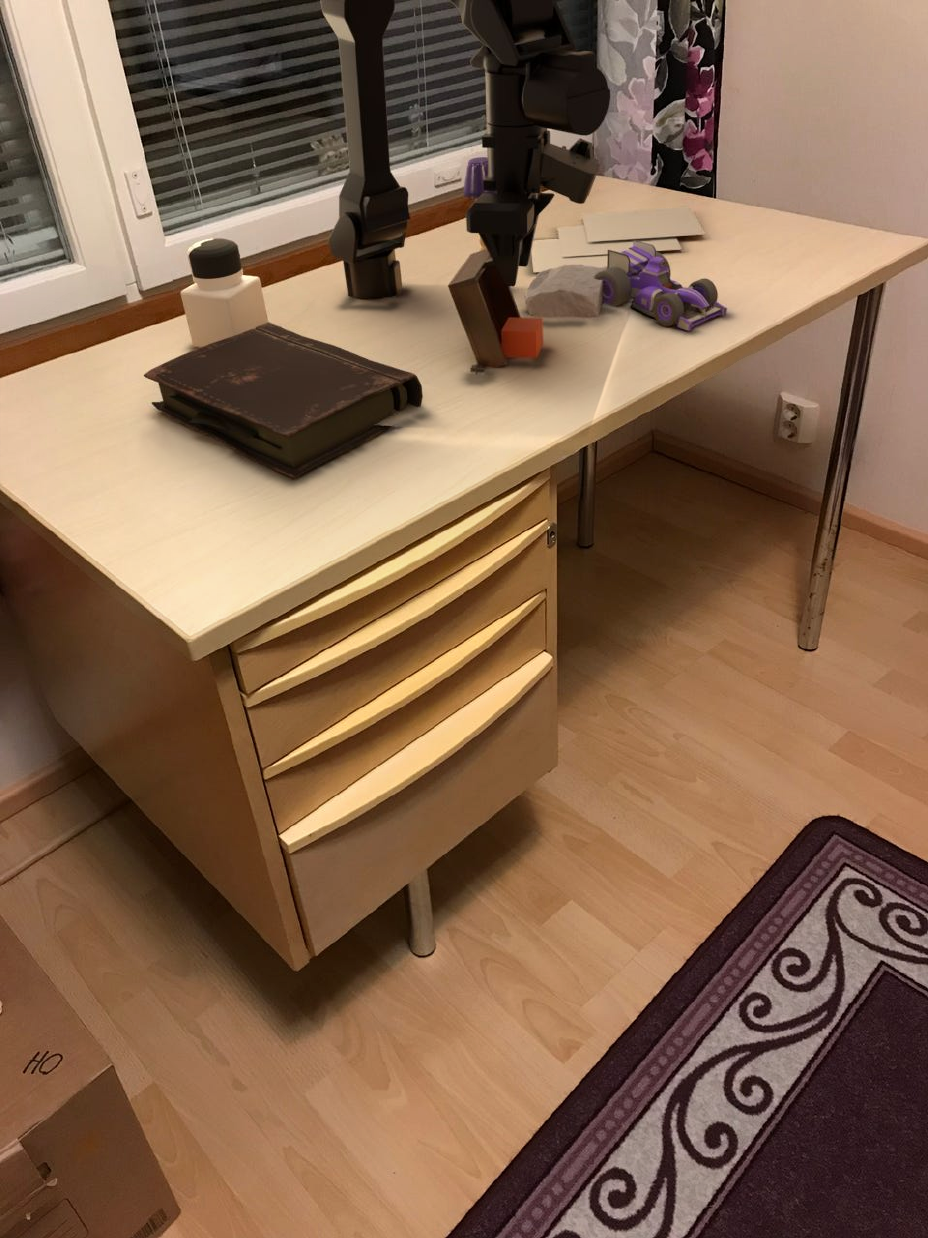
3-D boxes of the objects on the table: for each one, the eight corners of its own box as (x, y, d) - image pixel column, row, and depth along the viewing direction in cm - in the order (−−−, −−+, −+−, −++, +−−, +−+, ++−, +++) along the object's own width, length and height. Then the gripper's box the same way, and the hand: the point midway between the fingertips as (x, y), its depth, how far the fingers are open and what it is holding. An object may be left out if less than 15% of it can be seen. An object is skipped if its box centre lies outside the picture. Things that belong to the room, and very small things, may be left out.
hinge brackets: (469, 381, 112) (468, 370, 111) (497, 332, 122) (497, 321, 121) (483, 382, 111) (482, 370, 110) (510, 333, 122) (510, 321, 121)
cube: (535, 331, 111) (536, 365, 114) (542, 318, 114) (543, 351, 117) (500, 330, 112) (502, 364, 115) (508, 317, 115) (509, 350, 118)
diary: (280, 357, 121) (272, 316, 118) (425, 412, 106) (420, 368, 103) (147, 414, 111) (135, 372, 108) (287, 484, 96) (278, 437, 93)
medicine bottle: (271, 331, 128) (252, 235, 120) (239, 353, 123) (217, 254, 115) (225, 326, 130) (204, 231, 123) (192, 347, 125) (168, 250, 118)
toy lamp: (464, 298, 132) (455, 163, 122) (477, 285, 136) (469, 153, 125) (498, 300, 131) (492, 164, 120) (511, 288, 134) (505, 154, 124)
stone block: (525, 336, 125) (605, 321, 121) (516, 299, 122) (597, 282, 119) (539, 304, 134) (613, 289, 131) (531, 269, 131) (607, 253, 128)
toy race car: (681, 336, 117) (685, 281, 113) (590, 305, 127) (590, 253, 123) (734, 312, 122) (739, 258, 118) (642, 284, 132) (644, 234, 128)
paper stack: (717, 260, 136) (717, 255, 136) (533, 272, 138) (533, 267, 137) (689, 210, 155) (689, 205, 154) (527, 221, 156) (527, 216, 156)
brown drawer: (445, 280, 107) (505, 262, 104) (469, 249, 115) (525, 231, 112) (480, 371, 113) (538, 356, 110) (500, 335, 120) (555, 320, 117)
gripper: (578, 144, 92) (574, 311, 101) (608, 101, 106) (602, 250, 115) (461, 142, 94) (468, 305, 104) (505, 100, 108) (508, 247, 118)
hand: (516, 275), depth 110 cm, fingers closed on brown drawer, 6 cm apart
